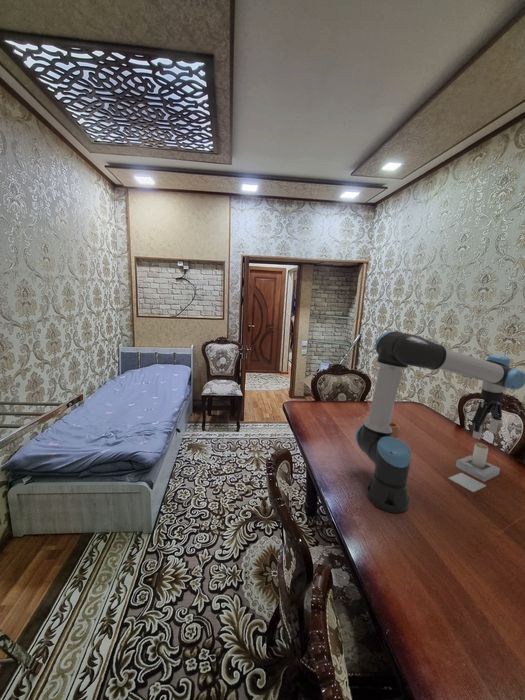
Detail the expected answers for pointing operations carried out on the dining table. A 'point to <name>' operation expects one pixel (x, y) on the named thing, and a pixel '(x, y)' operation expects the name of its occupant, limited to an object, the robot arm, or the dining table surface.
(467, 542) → the dining table surface
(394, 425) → the bracket
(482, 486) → the pad
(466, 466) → the housing
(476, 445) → the off-white cylinder
